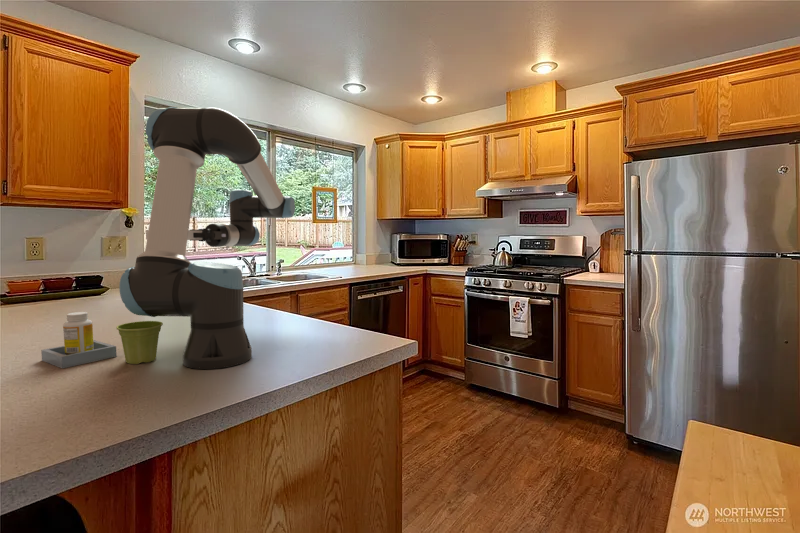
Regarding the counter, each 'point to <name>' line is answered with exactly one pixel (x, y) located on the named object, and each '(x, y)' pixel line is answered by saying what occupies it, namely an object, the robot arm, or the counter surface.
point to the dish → (78, 355)
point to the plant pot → (140, 340)
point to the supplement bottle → (78, 333)
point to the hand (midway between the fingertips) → (164, 234)
